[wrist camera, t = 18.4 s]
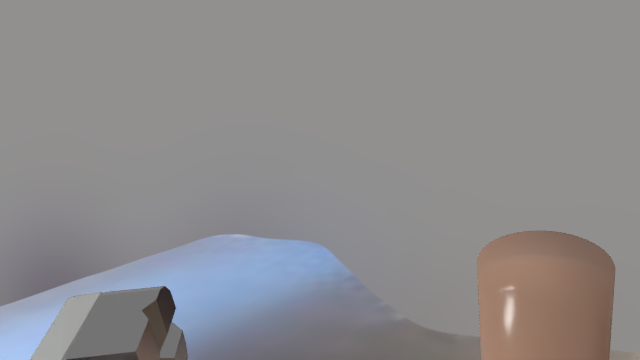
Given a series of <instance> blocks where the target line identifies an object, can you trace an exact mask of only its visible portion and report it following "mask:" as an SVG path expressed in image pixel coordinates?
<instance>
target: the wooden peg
mask: <svg viewBox="0 0 640 360" xmlns="http://www.w3.org/2000/svg"><path fill="white" fill-rule="evenodd" d="M477 274H478V295H479V317H480V341H481V360H609V353H610V338H611V325H612V310H613V295H614V281H615V266H614V263H613V261H612V259H611V257H610V256H609V255H608V254H607V253H606V252H605V251H604V250H603V249H601V248H600V247H599V246H597V245H596V244H594V243H592V242H590V241H588V240H586V239H583V238H580V237H577V236H574V235H570V234H566V233H561V232H553V231H525V232H518V233H513V234H509V235H506V236H503V237H500V238H498V239H496V240H494V241H492V242H490V243H489V244H488V245H486V247H484V248H483V249H482V251H481V252H480V254H479V256H478V259H477Z"/></svg>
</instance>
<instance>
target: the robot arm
mask: <svg viewBox="0 0 640 360" xmlns="http://www.w3.org/2000/svg"><path fill="white" fill-rule="evenodd" d="M175 309H176V307H175V304H174V301H173V298H172V295H171V292H170V290H169V289H168V288H166V287H165V286H161V287H151V288H141V289H131V290H121V291H111V292H105V293H101V292H99V293H92V294H84V295H77V296H73V297H71V298H68V299H67V301H66V302H65V304H64V305H63V307H62V309H61V310H60V312H59V314H58V315H57V317H56V318H55V320H54V322H53V323H52V325H51V327H50V328H49V330H48V331H47V333H46V335H45V336H44V338H43V339H42V341H41V343H40V344H39V346H38V348H37V349H36V351H35V352H34V354H33V356H32V357H31V359H30V360H188V356H187V349H186V342H185V339H184V335H183V331H182V330H181V329H180V328H179V327H177V326H176V325H175V324H174V323H172V318H173V315H174V312H175Z"/></svg>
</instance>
